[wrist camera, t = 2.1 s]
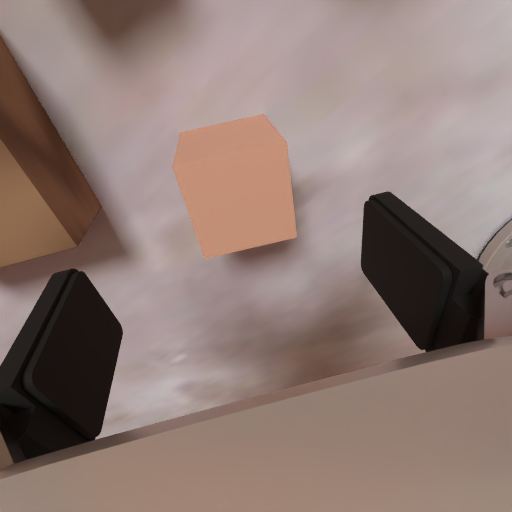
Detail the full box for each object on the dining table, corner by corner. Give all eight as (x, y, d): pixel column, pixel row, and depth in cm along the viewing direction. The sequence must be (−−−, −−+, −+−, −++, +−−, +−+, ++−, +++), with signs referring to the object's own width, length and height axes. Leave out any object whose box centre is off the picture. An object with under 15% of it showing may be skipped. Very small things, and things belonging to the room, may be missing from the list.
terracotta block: (274, 191, 21) (297, 237, 16) (203, 207, 21) (204, 258, 16) (263, 113, 18) (286, 141, 13) (180, 132, 18) (172, 167, 13)
